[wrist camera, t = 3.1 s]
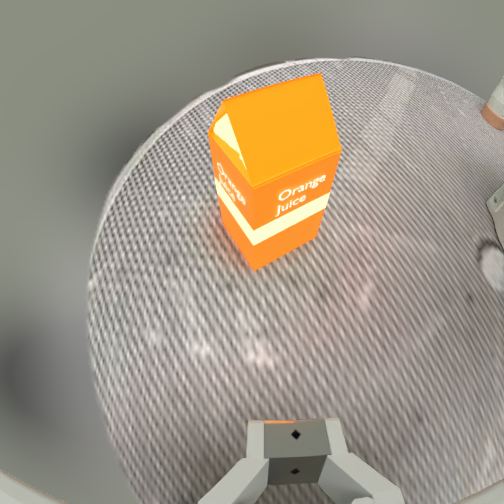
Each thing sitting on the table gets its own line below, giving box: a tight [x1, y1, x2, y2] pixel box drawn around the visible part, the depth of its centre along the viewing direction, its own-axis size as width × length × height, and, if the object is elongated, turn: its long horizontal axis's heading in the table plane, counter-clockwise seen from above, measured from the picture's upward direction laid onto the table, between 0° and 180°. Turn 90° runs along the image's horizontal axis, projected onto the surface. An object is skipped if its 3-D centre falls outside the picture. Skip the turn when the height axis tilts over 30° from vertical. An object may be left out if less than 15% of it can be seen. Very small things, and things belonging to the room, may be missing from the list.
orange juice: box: [208, 73, 342, 271], centre depth 28 cm, size 8×9×20 cm
